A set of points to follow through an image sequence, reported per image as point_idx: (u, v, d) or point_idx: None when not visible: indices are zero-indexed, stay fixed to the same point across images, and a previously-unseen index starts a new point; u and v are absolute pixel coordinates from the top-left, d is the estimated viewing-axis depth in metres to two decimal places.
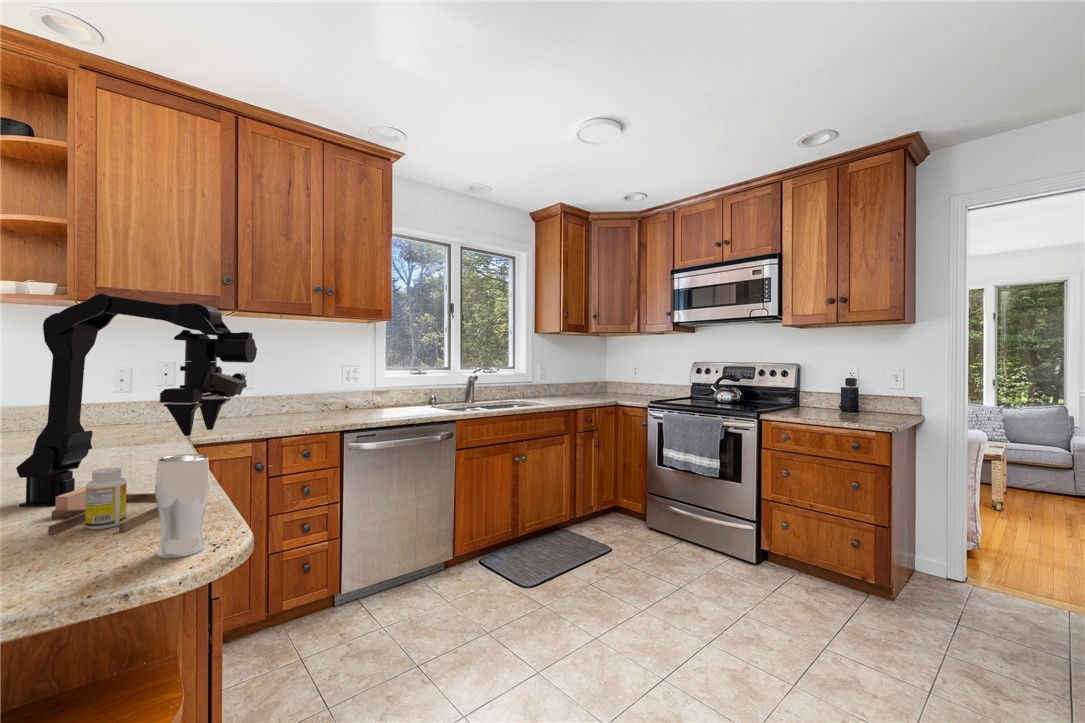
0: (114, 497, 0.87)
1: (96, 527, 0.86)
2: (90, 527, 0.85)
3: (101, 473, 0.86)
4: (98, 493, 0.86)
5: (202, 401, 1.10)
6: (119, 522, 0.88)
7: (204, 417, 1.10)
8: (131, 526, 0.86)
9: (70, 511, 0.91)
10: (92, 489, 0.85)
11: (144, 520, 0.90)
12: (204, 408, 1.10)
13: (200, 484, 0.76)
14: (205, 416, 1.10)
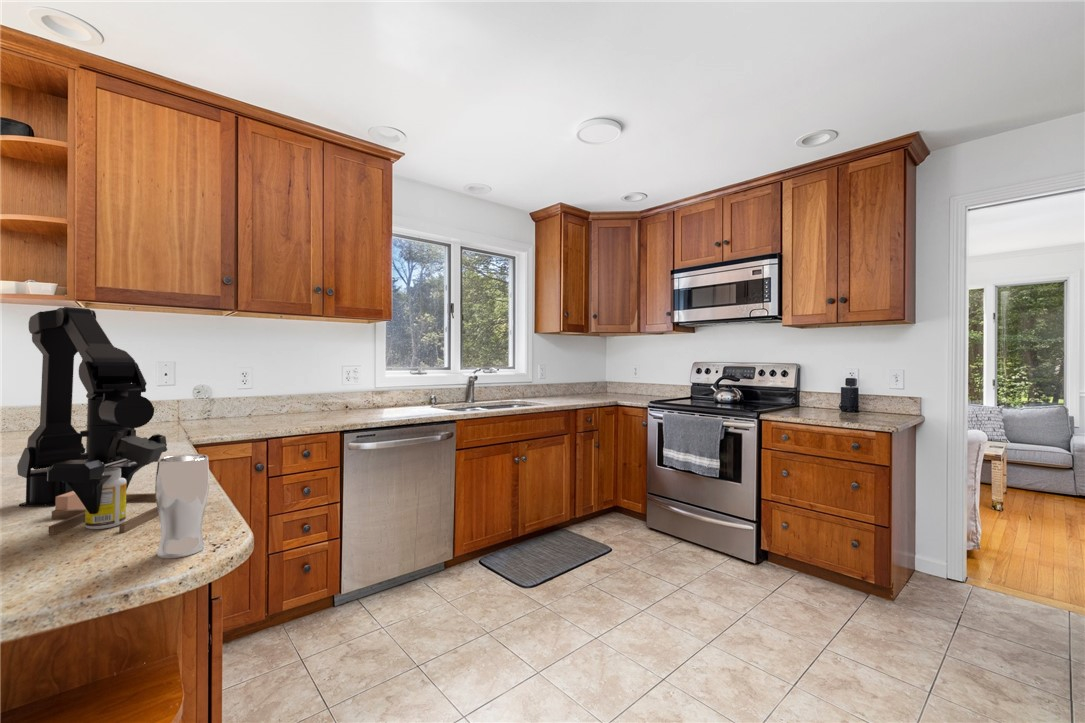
0: (114, 497, 0.87)
1: (96, 527, 0.86)
2: (90, 527, 0.85)
3: None
4: None
5: None
6: (119, 522, 0.88)
7: None
8: (131, 526, 0.86)
9: (70, 511, 0.91)
10: None
11: (144, 520, 0.90)
12: None
13: (200, 484, 0.76)
14: None
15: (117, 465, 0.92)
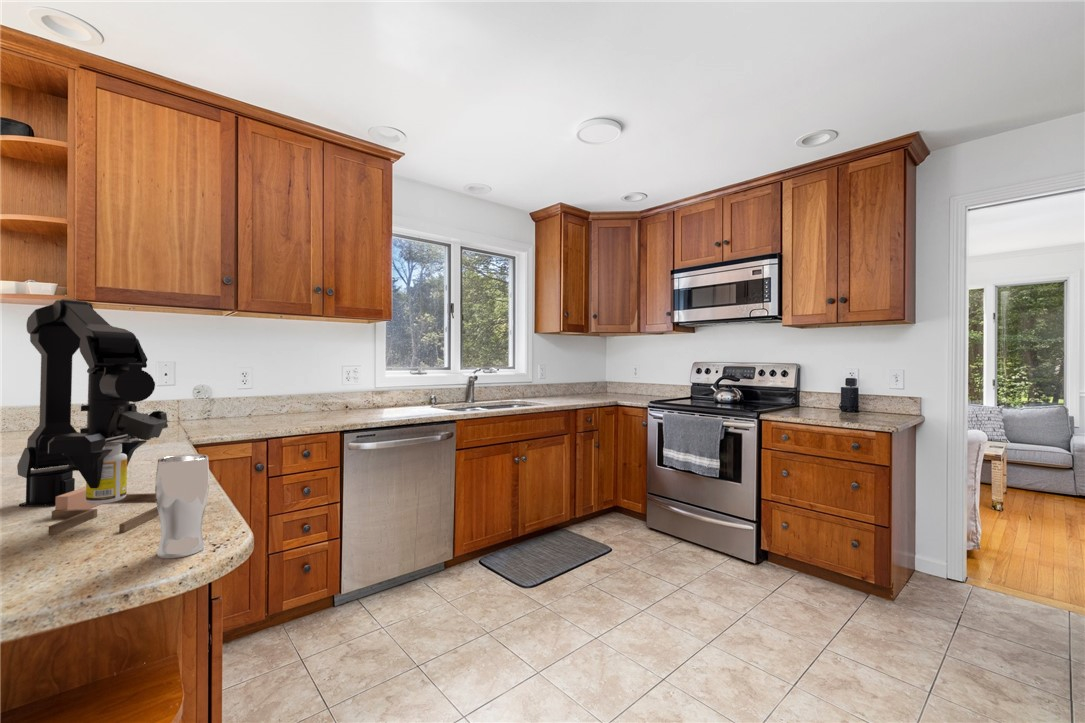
0: (115, 471, 0.87)
1: (97, 501, 0.86)
2: (91, 501, 0.86)
3: None
4: None
5: None
6: (120, 497, 0.88)
7: None
8: (131, 526, 0.86)
9: (70, 511, 0.91)
10: None
11: (144, 520, 0.90)
12: None
13: (200, 484, 0.76)
14: None
15: (118, 441, 0.92)
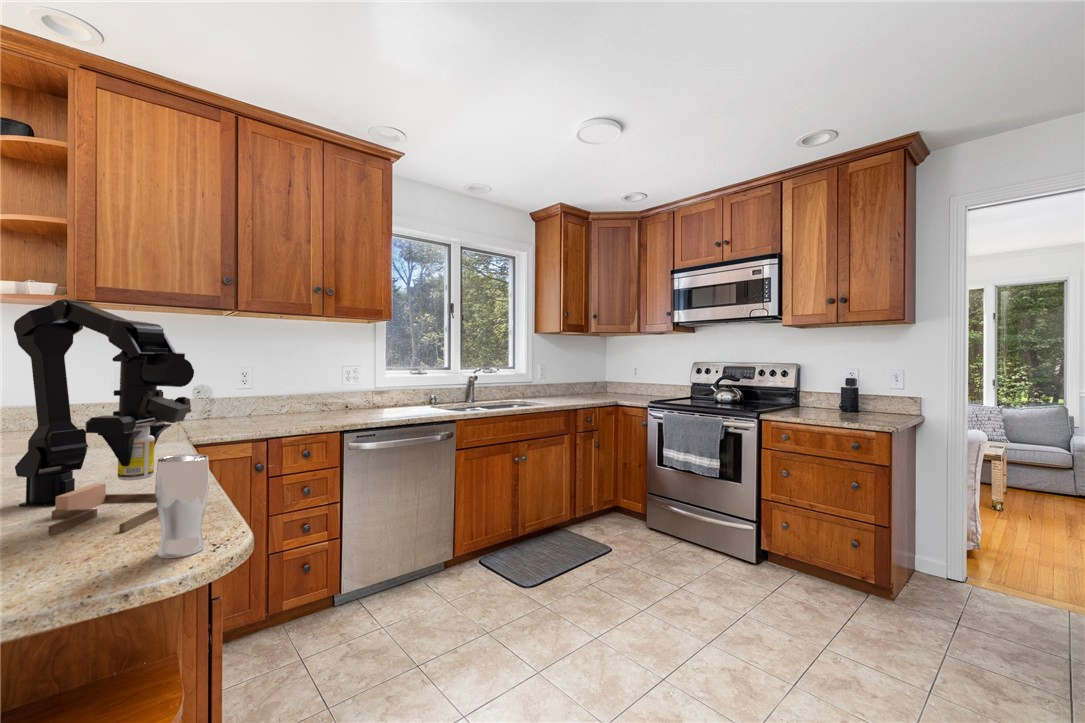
0: (144, 451, 0.95)
1: (127, 478, 0.94)
2: (122, 478, 0.94)
3: None
4: None
5: None
6: (148, 475, 0.96)
7: None
8: (131, 526, 0.86)
9: (70, 511, 0.91)
10: None
11: (144, 520, 0.90)
12: None
13: (200, 484, 0.76)
14: None
15: (146, 424, 1.00)
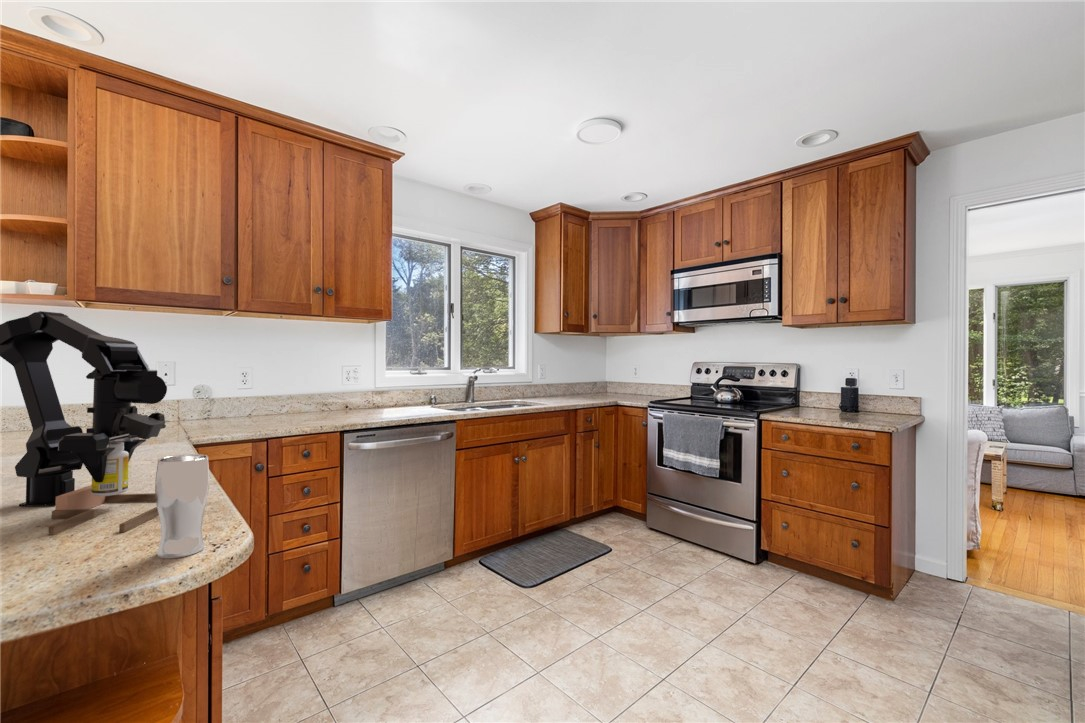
0: (118, 467, 0.96)
1: (101, 494, 0.95)
2: (96, 494, 0.95)
3: None
4: None
5: None
6: (122, 490, 0.97)
7: None
8: (131, 526, 0.86)
9: (70, 511, 0.91)
10: None
11: (144, 520, 0.90)
12: None
13: (200, 484, 0.76)
14: None
15: (120, 440, 1.01)
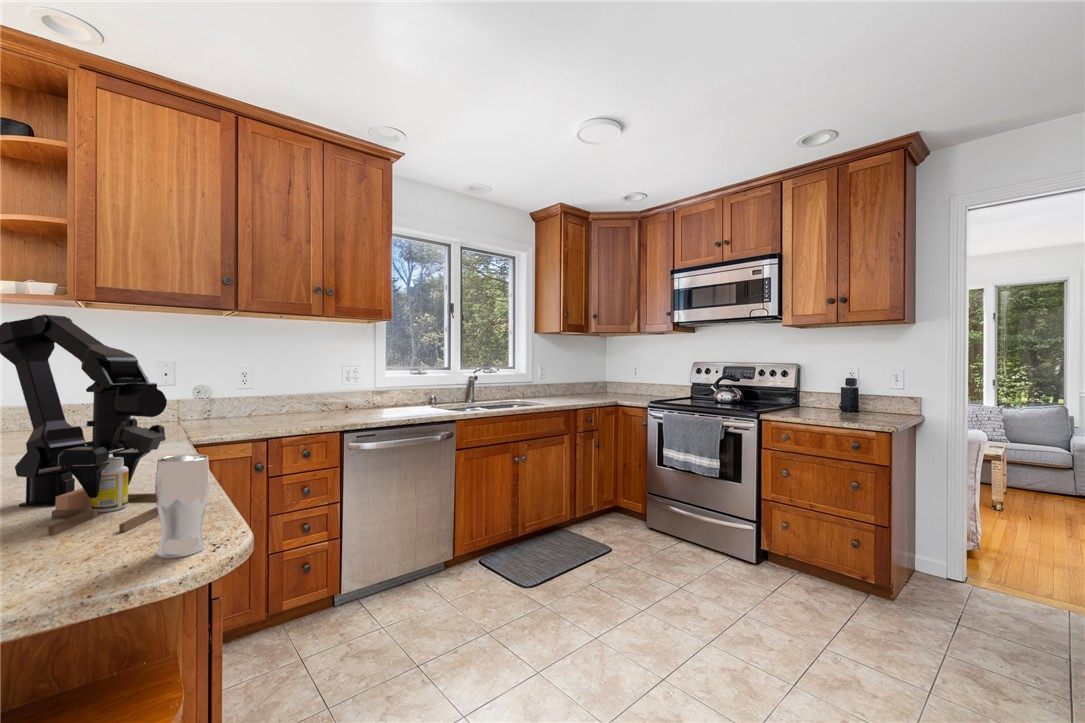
0: (118, 483, 0.96)
1: (101, 510, 0.95)
2: None
3: None
4: (103, 479, 0.95)
5: (117, 455, 1.02)
6: (122, 506, 0.97)
7: None
8: (131, 526, 0.86)
9: (70, 511, 0.91)
10: None
11: (144, 520, 0.90)
12: None
13: (200, 484, 0.76)
14: None
15: (125, 451, 1.03)
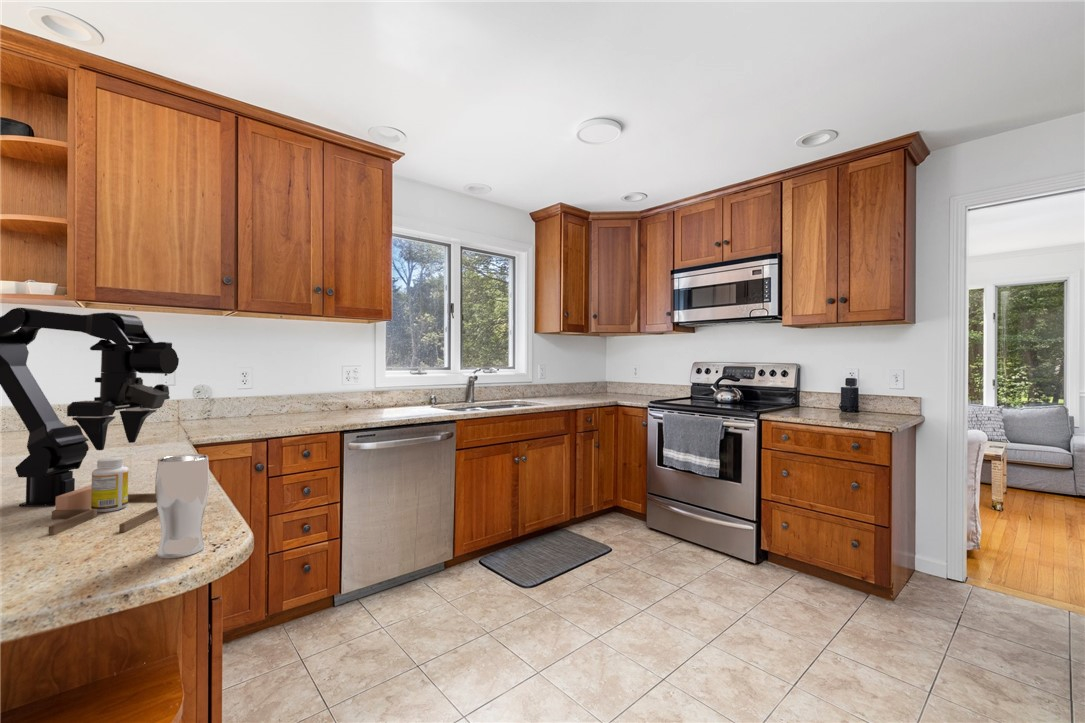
0: (117, 483, 0.96)
1: (101, 510, 0.95)
2: None
3: (105, 461, 0.96)
4: (103, 479, 0.95)
5: (124, 413, 1.07)
6: (122, 506, 0.97)
7: (126, 429, 1.06)
8: (131, 526, 0.86)
9: (70, 511, 0.91)
10: (97, 476, 0.95)
11: (144, 520, 0.90)
12: (126, 420, 1.06)
13: (200, 484, 0.76)
14: (127, 428, 1.06)
15: (132, 410, 1.07)
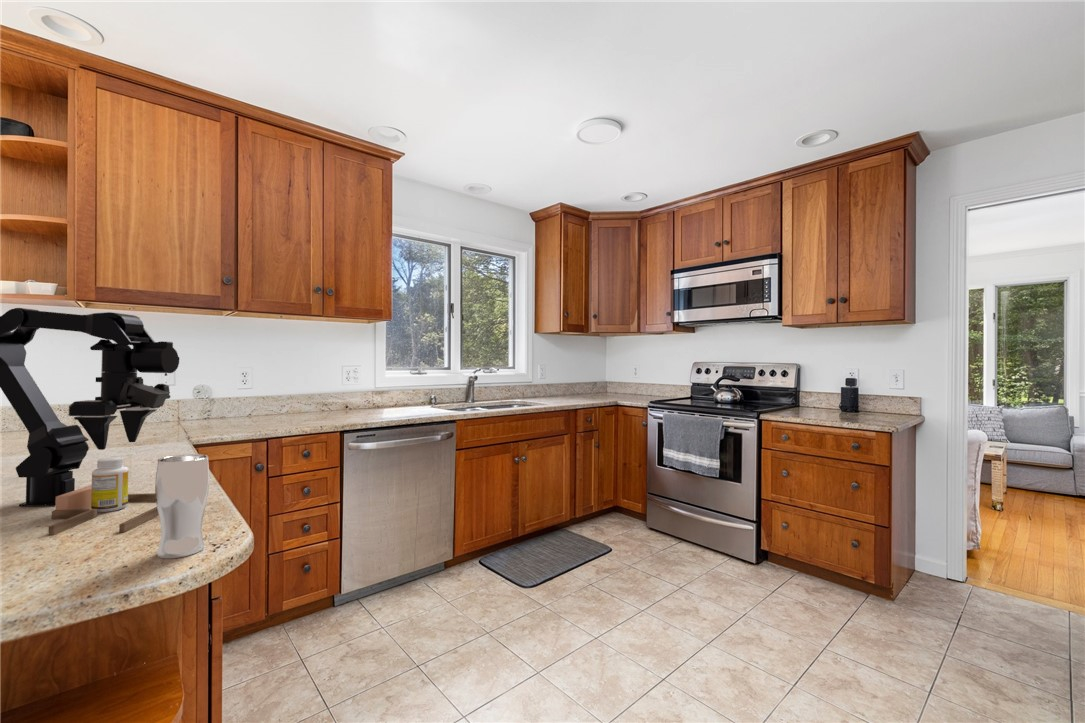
0: (117, 483, 0.96)
1: (101, 510, 0.95)
2: None
3: (105, 461, 0.96)
4: (103, 479, 0.95)
5: (124, 412, 1.07)
6: (122, 506, 0.97)
7: (126, 429, 1.06)
8: (131, 526, 0.86)
9: (70, 511, 0.91)
10: (97, 476, 0.95)
11: (144, 520, 0.90)
12: (127, 419, 1.07)
13: (200, 484, 0.76)
14: (127, 428, 1.07)
15: (132, 409, 1.07)
